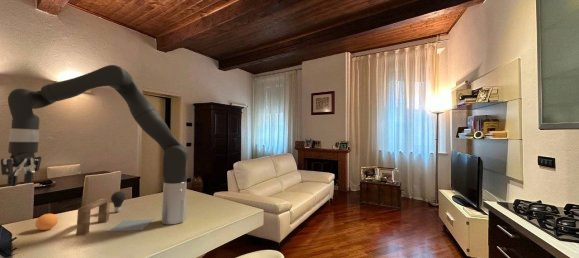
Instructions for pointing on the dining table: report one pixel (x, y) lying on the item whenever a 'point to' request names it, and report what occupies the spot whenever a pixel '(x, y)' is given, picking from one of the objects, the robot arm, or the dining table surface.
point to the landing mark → (131, 225)
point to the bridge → (84, 215)
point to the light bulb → (118, 200)
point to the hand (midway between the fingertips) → (20, 184)
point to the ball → (46, 221)
